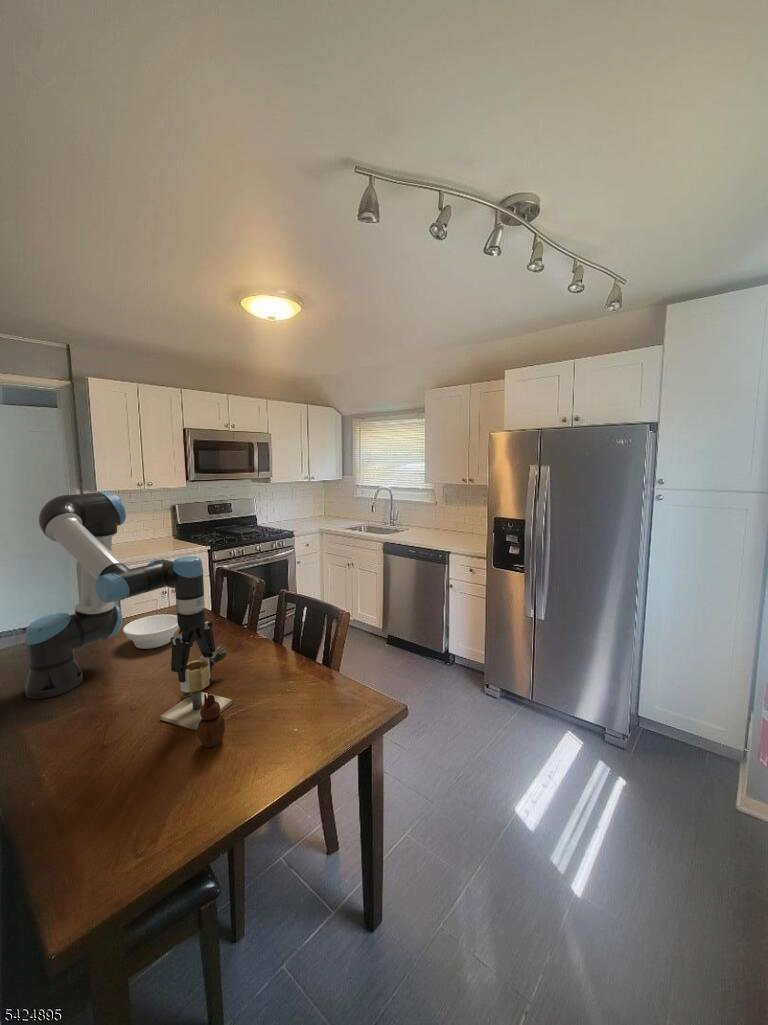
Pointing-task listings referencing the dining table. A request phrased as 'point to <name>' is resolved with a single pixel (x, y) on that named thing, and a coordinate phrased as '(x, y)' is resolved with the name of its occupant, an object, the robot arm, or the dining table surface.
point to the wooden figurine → (210, 723)
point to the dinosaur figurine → (216, 658)
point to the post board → (192, 710)
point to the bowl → (151, 630)
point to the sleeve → (198, 674)
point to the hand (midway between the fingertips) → (196, 684)
